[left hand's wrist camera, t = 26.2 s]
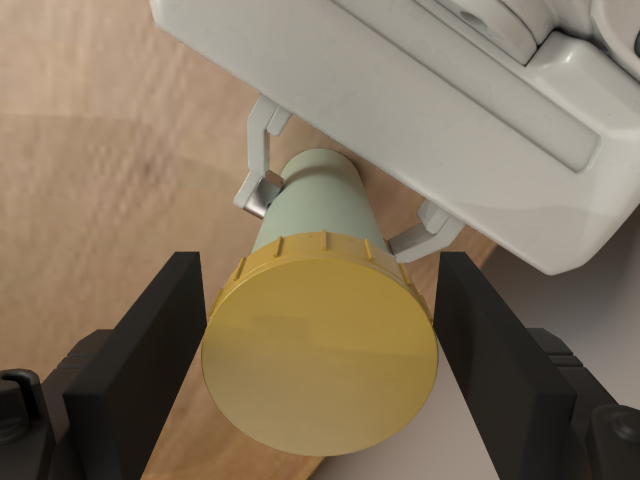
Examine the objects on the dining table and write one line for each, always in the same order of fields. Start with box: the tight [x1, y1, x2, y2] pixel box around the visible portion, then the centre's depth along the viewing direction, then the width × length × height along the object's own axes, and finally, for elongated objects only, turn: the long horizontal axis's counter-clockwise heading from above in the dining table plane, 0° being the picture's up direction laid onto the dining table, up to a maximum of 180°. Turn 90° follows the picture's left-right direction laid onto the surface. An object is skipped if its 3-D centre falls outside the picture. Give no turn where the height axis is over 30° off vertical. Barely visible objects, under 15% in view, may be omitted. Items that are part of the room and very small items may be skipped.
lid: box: [201, 229, 438, 456], centre depth 11 cm, size 6×6×2 cm
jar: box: [251, 148, 389, 254], centre depth 19 cm, size 5×5×16 cm
